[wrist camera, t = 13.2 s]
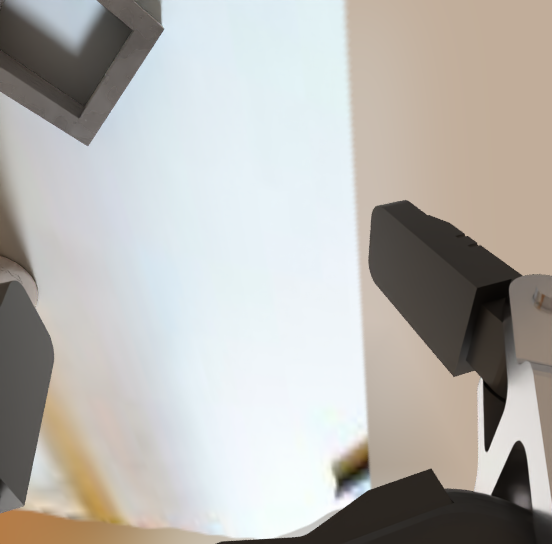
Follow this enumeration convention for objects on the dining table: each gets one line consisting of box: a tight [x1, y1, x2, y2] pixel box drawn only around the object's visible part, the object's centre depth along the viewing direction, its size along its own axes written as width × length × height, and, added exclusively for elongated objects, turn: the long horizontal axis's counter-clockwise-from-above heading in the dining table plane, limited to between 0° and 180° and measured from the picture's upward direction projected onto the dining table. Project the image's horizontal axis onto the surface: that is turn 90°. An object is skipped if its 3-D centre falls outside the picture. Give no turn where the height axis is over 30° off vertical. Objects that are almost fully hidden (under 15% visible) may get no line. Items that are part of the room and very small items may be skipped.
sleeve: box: [0, 0, 164, 146], centre depth 30 cm, size 11×11×4 cm
